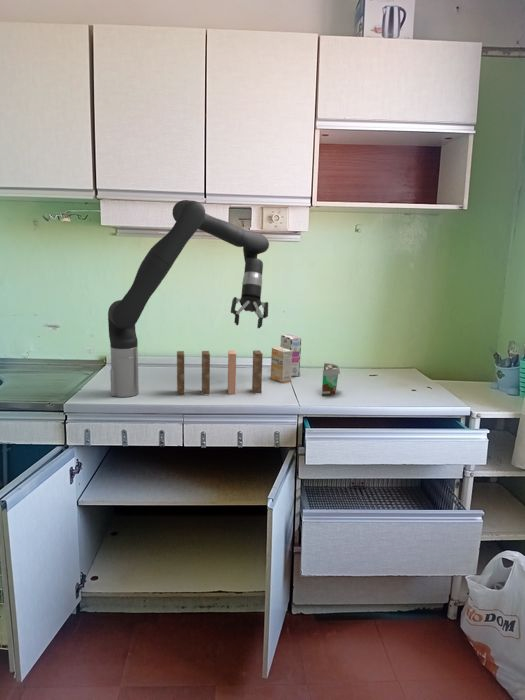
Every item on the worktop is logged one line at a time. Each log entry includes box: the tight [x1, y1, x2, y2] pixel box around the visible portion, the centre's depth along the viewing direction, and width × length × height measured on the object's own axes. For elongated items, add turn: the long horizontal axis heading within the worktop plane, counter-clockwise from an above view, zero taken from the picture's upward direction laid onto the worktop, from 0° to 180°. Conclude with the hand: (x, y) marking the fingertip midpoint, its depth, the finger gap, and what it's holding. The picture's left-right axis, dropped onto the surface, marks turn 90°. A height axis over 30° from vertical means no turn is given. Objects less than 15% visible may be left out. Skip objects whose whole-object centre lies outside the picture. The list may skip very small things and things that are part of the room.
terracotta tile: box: [227, 350, 237, 395], centre depth 181 cm, size 2×6×15 cm, turn 7°
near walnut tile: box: [176, 350, 185, 396], centre depth 177 cm, size 2×6×15 cm, turn 10°
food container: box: [321, 362, 341, 397], centre depth 184 cm, size 12×6×10 cm, turn 171°
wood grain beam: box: [251, 349, 264, 394], centre depth 182 cm, size 2×6×15 cm, turn 10°
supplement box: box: [270, 346, 292, 384], centre depth 199 cm, size 8×5×13 cm, turn 36°
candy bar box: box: [279, 334, 302, 378], centre depth 210 cm, size 11×5×16 cm, turn 21°
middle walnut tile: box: [201, 350, 211, 395], centre depth 179 cm, size 2×6×15 cm, turn 10°
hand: (248, 326), depth 188 cm, fingers open, 8 cm apart
